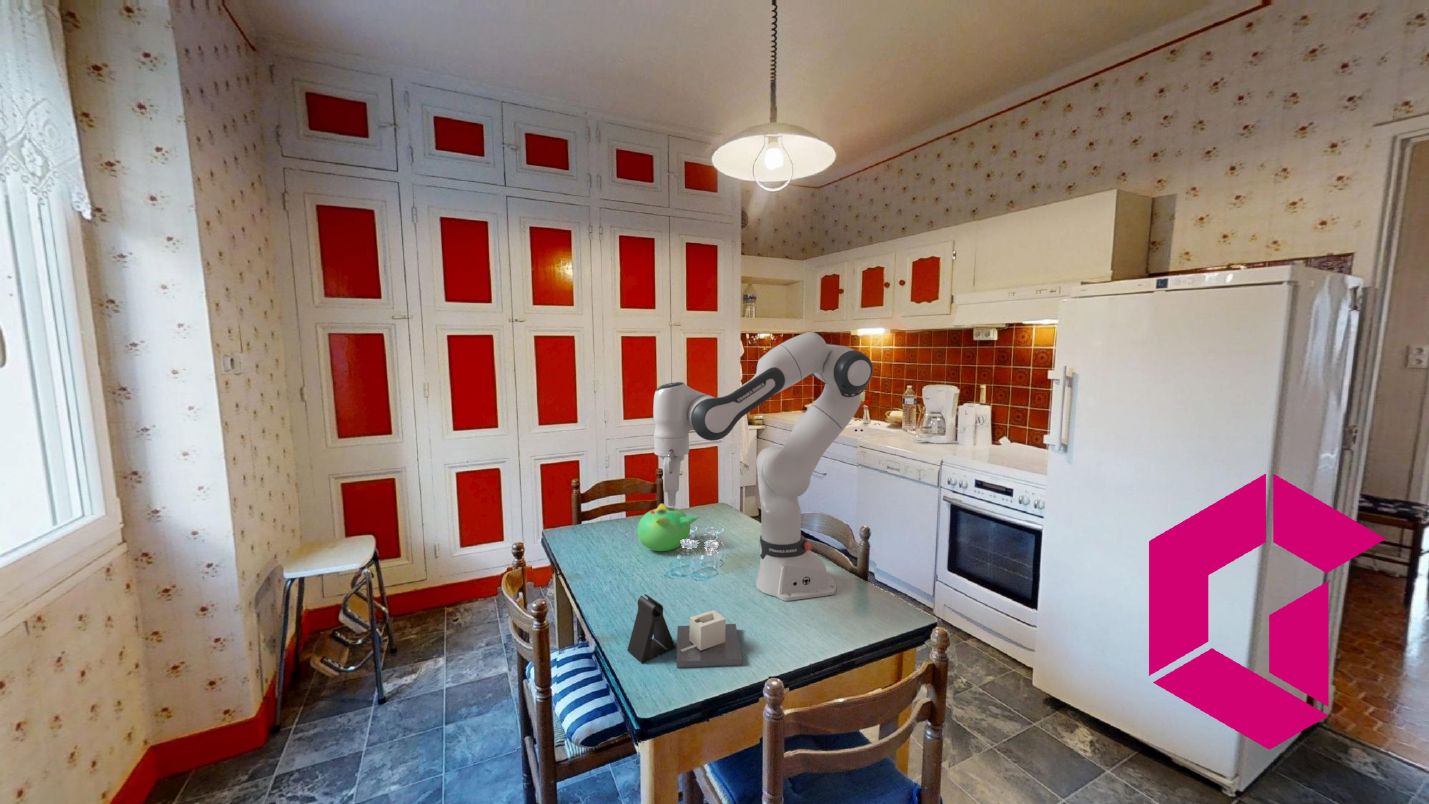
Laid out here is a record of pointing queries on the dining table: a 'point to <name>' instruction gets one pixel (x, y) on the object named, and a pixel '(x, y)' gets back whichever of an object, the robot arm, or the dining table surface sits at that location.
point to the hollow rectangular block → (707, 630)
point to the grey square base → (708, 650)
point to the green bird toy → (664, 528)
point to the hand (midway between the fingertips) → (672, 499)
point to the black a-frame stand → (649, 631)
